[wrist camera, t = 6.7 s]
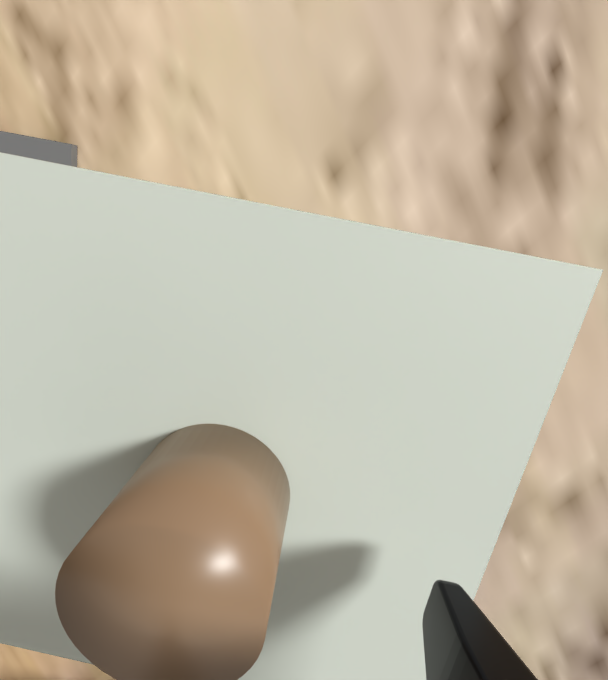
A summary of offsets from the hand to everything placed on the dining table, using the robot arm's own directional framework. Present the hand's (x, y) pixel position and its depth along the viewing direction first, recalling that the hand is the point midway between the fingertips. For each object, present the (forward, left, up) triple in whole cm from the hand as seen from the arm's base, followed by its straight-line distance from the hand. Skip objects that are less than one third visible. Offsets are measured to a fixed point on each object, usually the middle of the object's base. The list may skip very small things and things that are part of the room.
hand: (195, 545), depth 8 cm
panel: (0, 0, -2) cm, 2 cm away
